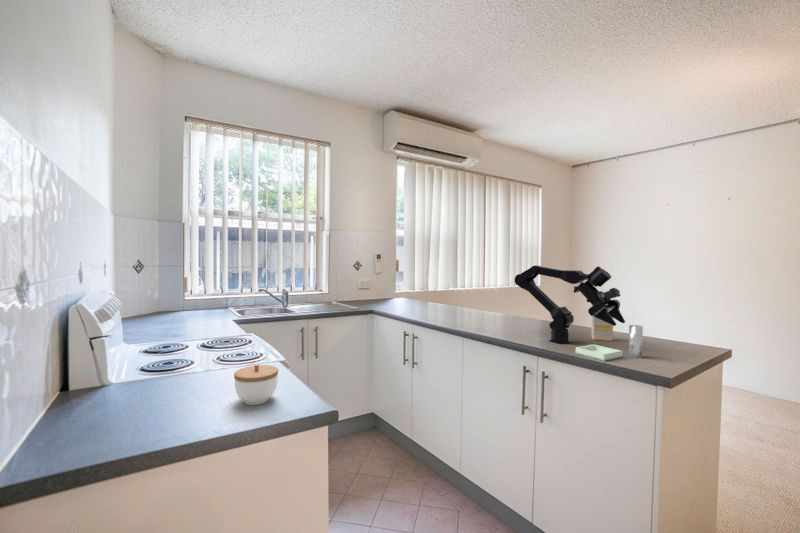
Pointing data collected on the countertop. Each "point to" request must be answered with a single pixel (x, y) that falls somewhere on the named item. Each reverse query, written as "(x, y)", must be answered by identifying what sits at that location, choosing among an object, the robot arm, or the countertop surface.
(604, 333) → the supplement box
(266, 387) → the lidded jar
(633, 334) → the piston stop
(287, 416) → the countertop surface
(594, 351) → the tray
